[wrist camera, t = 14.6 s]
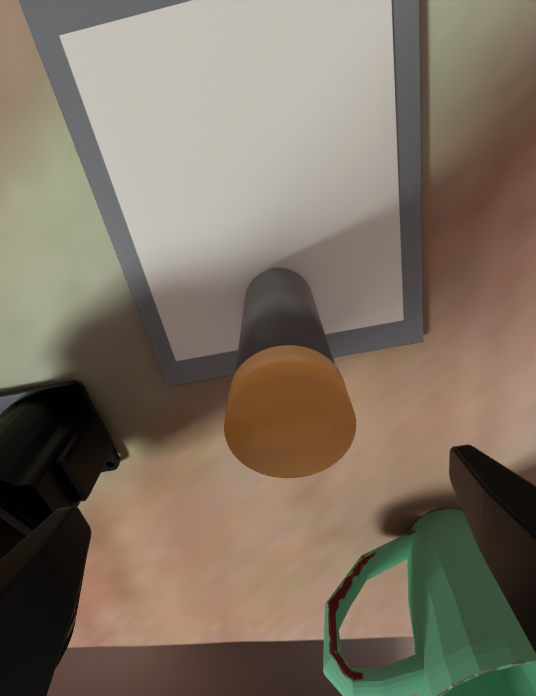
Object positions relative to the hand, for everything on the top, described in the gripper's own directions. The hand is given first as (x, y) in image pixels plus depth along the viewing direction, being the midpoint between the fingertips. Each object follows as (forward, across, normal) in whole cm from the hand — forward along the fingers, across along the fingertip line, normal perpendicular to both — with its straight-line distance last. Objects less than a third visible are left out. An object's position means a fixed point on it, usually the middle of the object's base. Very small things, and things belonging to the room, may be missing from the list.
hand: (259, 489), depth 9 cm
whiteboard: (+12, -1, -6) cm, 13 cm away
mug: (+12, -7, +19) cm, 24 cm away
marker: (+11, -1, -1) cm, 11 cm away
